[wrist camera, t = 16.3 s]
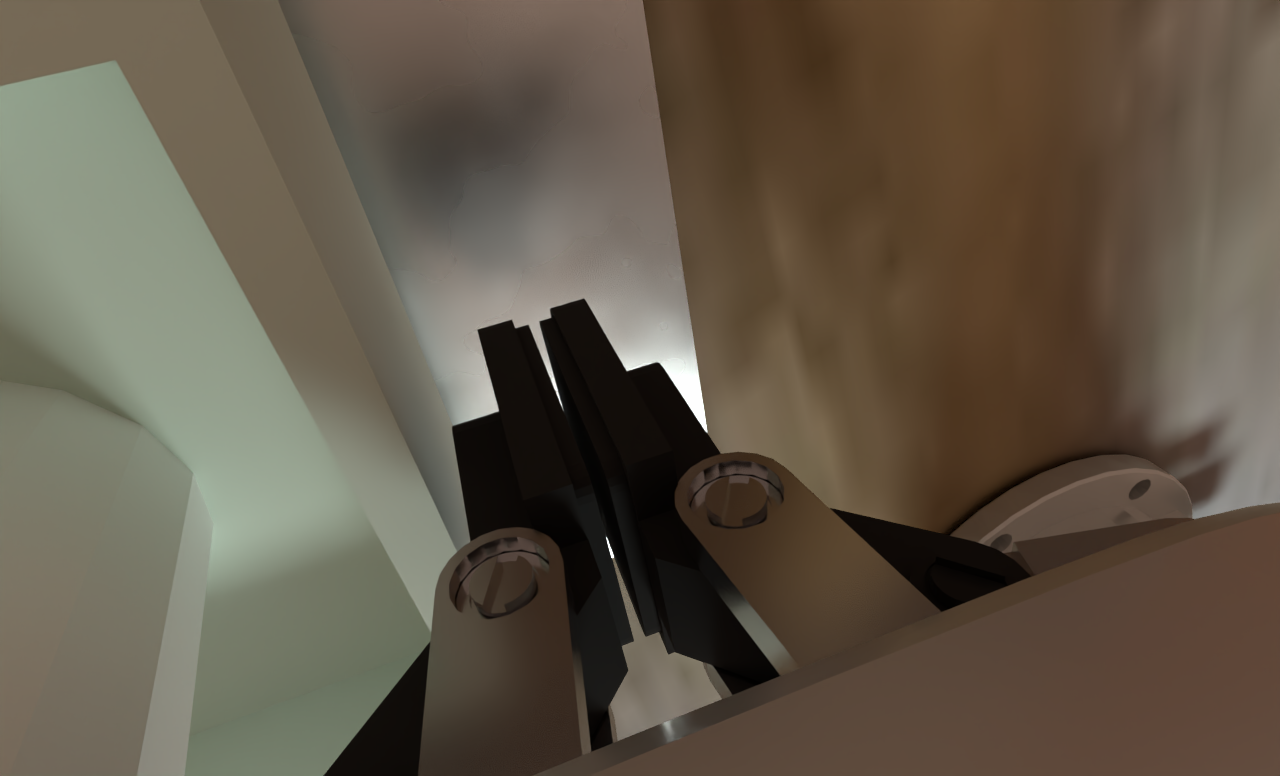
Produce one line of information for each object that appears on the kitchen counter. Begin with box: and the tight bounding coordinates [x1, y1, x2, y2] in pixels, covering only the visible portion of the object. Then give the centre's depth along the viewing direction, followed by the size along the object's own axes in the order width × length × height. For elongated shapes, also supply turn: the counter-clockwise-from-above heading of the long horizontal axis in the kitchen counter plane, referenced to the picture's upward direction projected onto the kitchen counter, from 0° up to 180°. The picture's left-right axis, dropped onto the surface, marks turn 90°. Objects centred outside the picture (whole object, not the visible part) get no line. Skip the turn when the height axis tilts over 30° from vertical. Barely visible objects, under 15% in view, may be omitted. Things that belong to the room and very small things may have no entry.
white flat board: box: [278, 0, 707, 558], centre depth 13 cm, size 26×16×1 cm, turn 100°
